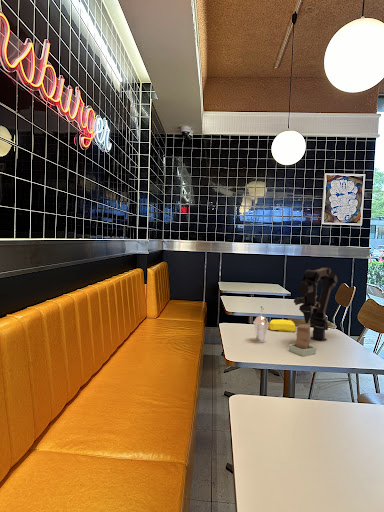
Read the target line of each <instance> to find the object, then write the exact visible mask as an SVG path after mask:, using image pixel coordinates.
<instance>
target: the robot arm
mask: <svg viewBox="0 0 384 512" xmlns="http://www.w3.org/2000/svg"><path fill="white" fill-rule="evenodd" d="M319 281H320V284H321V286H322V289H321V291H320V292H321V293H320V296H319V301H317V298H318V295H317V293H318V285H319ZM337 283H338V277H337V274H336V273H334V272H333V271H332V269H331V268H329V267H321V268H319V269H315V270H311V269H307V270H305V272H304V273H303V276H302V279H301V284H300V285H299V286H298V287H297V291H298V293H299V295H302V296H303V297H298V296H297V297H294V299H293V303H294V304H295V306H298V305H299V309H298V310H299V312H301V313H303V314H302V315H303V318H304V323H305V324H310V329H311V328H313V330H312V336H310V338H311V339H312V340H316V341H319V342H321V341H326V340H327V339H328V338H326V337H325V336H326V335H325V333H326V332H325V331H328V330H329V322H328V319H327V318H328V317H327V315H326V312H327V308H328V307H327V306H328V302H329V299H330V295H331V292H332V291H333V289H334V288H336V285H337Z"/></svg>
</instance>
